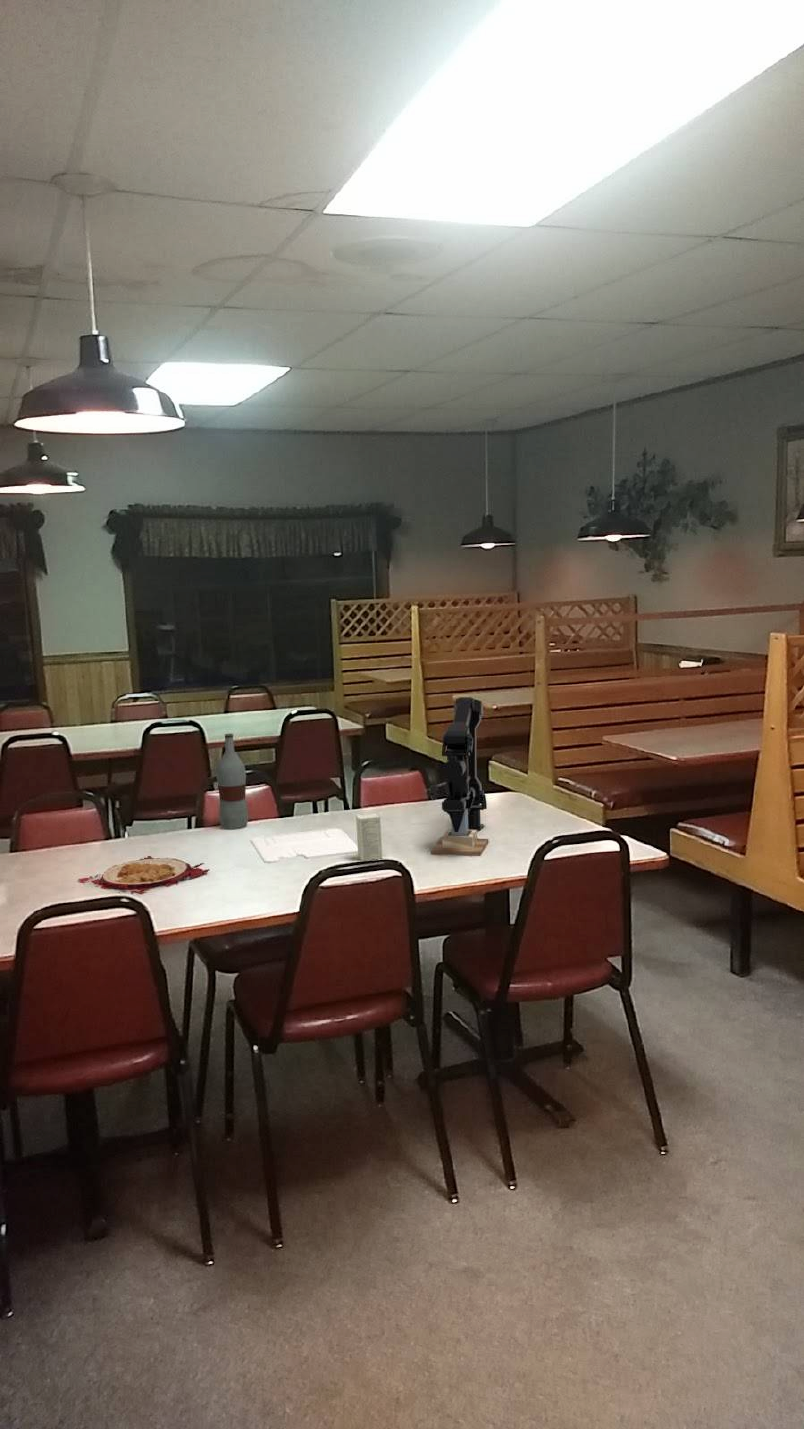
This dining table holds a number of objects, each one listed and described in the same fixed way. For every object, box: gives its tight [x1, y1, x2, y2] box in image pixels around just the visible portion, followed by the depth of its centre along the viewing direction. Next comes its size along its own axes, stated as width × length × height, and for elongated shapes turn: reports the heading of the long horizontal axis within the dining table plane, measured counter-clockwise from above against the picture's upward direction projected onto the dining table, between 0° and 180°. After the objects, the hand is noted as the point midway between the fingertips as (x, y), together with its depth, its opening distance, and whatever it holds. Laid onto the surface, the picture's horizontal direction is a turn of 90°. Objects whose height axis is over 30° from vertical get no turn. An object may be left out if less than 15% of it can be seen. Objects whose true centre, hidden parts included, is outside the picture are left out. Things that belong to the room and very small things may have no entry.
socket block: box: [430, 828, 490, 857], centre depth 274 cm, size 14×14×4 cm
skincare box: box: [355, 813, 383, 862], centre depth 267 cm, size 6×4×12 cm
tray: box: [250, 828, 358, 864], centre depth 283 cm, size 28×28×2 cm
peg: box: [450, 809, 468, 836], centre depth 273 cm, size 4×4×10 cm
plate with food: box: [77, 855, 210, 895], centre depth 257 cm, size 24×26×4 cm
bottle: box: [216, 733, 249, 830], centre depth 307 cm, size 9×9×30 cm
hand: (459, 827), depth 273 cm, fingers open, 9 cm apart
